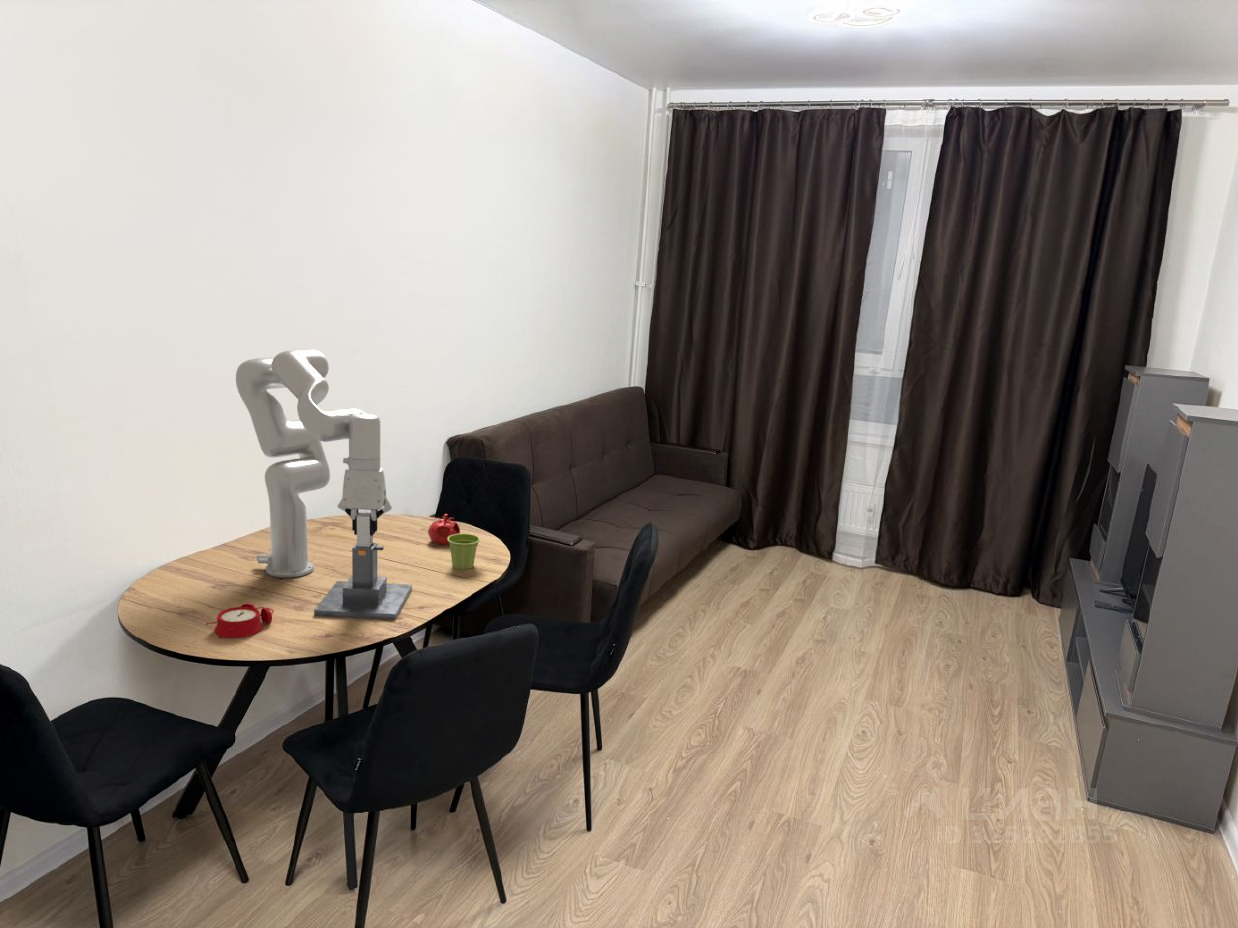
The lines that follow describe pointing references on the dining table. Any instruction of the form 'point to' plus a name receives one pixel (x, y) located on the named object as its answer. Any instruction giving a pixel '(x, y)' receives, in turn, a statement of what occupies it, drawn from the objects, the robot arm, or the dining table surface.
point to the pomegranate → (443, 530)
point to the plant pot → (463, 550)
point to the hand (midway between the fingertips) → (364, 532)
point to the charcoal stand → (364, 591)
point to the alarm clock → (241, 621)
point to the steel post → (364, 530)
